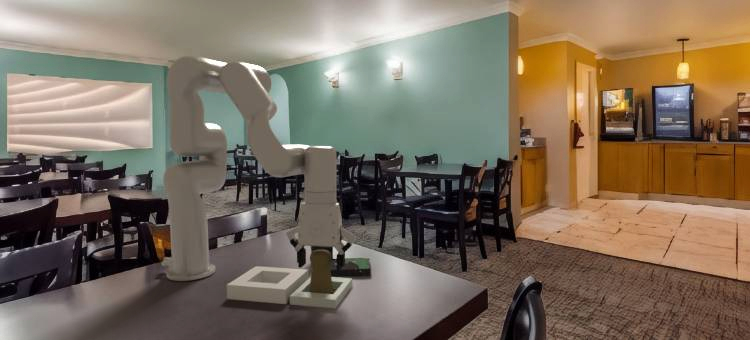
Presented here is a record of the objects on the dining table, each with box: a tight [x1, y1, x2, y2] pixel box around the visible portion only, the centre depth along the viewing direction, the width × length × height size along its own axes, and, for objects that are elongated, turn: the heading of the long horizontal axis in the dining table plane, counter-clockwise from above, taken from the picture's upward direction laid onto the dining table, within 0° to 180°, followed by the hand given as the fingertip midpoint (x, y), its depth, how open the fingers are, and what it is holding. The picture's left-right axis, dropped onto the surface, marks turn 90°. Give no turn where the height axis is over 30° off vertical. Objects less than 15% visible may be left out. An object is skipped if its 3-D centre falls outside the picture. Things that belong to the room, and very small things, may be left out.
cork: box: [309, 250, 335, 294], centre depth 100 cm, size 6×6×11 cm
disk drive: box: [329, 257, 372, 278], centre depth 118 cm, size 10×3×15 cm
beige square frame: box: [226, 265, 309, 305], centre depth 103 cm, size 16×14×4 cm
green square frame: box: [289, 276, 353, 310], centre depth 100 cm, size 11×14×2 cm
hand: (320, 267), depth 100 cm, fingers open, 9 cm apart
